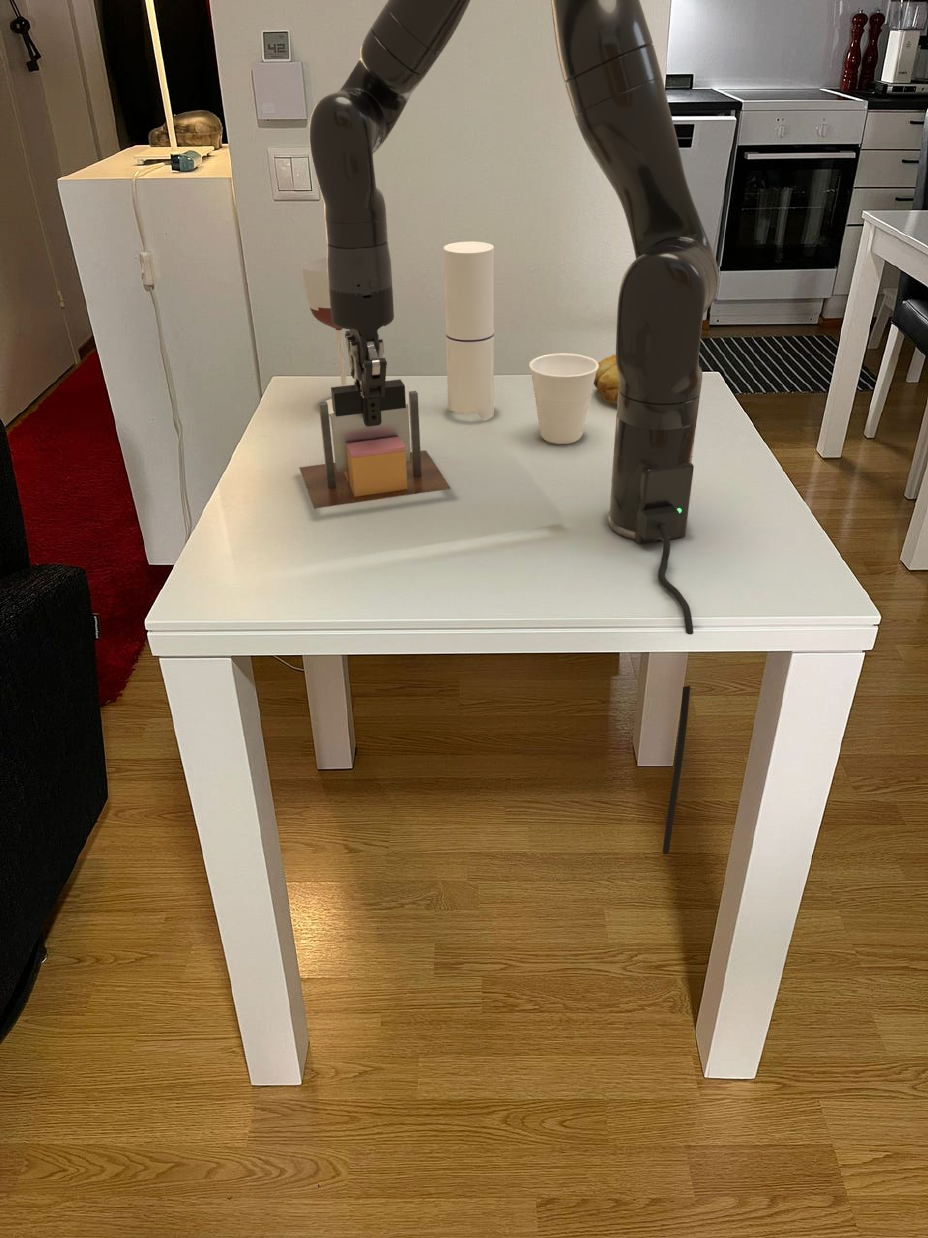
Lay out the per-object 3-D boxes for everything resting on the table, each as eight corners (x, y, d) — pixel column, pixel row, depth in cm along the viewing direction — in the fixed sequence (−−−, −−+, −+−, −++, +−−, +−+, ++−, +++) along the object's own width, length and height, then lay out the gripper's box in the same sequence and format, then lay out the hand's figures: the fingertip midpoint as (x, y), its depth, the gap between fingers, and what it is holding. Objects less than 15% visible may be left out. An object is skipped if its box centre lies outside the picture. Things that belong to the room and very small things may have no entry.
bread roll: (660, 413, 150) (665, 363, 146) (597, 415, 150) (601, 364, 146) (647, 384, 161) (651, 337, 156) (588, 385, 161) (591, 338, 157)
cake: (407, 489, 126) (405, 446, 123) (354, 497, 124) (350, 453, 121) (390, 459, 134) (387, 418, 131) (340, 466, 132) (336, 424, 129)
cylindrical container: (443, 420, 149) (437, 251, 136) (454, 404, 155) (450, 240, 141) (488, 424, 148) (487, 253, 134) (498, 407, 154) (498, 242, 140)
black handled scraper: (412, 465, 128) (408, 384, 121) (337, 475, 125) (330, 394, 119) (408, 458, 129) (404, 378, 123) (334, 468, 127) (326, 387, 121)
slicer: (451, 498, 127) (449, 403, 120) (315, 518, 123) (304, 422, 116) (426, 459, 137) (422, 370, 130) (300, 477, 133) (289, 385, 126)
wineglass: (310, 400, 157) (295, 260, 145) (367, 392, 160) (356, 254, 148) (323, 419, 151) (308, 273, 138) (382, 410, 153) (372, 267, 141)
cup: (597, 450, 139) (602, 375, 133) (528, 450, 139) (530, 376, 133) (591, 423, 147) (595, 352, 141) (526, 424, 148) (527, 353, 142)
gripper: (319, 270, 119) (331, 405, 129) (339, 300, 108) (351, 445, 117) (378, 265, 121) (387, 398, 130) (405, 294, 110) (411, 437, 119)
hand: (370, 419), depth 124 cm, fingers closed on black handled scraper, 2 cm apart
